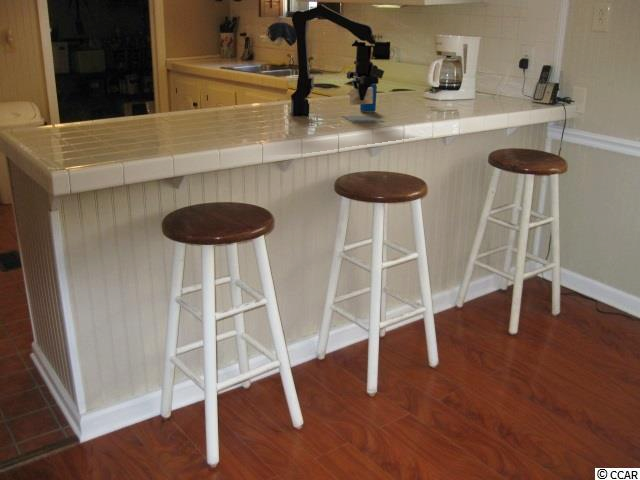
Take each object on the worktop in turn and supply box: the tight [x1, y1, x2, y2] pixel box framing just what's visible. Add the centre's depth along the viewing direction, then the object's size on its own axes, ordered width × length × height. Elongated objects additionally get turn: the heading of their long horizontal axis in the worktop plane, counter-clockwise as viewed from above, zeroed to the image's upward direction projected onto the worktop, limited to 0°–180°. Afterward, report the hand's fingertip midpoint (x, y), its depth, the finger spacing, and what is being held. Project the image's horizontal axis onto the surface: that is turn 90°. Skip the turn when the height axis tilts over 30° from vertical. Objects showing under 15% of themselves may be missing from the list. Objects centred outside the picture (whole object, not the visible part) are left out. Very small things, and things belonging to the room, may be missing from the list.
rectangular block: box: [349, 87, 373, 106], centre depth 249 cm, size 9×2×6 cm, turn 109°
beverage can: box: [359, 84, 378, 114], centre depth 265 cm, size 6×6×12 cm
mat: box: [341, 114, 386, 124], centre depth 249 cm, size 13×14×1 cm
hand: (361, 99), depth 249 cm, fingers closed on rectangular block, 2 cm apart
